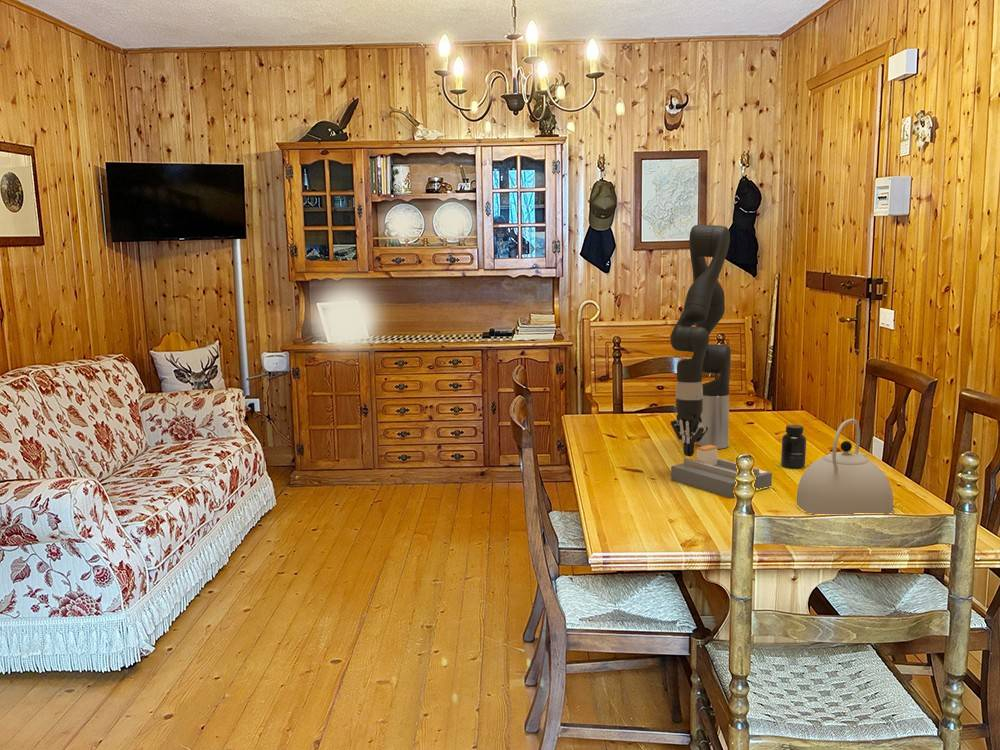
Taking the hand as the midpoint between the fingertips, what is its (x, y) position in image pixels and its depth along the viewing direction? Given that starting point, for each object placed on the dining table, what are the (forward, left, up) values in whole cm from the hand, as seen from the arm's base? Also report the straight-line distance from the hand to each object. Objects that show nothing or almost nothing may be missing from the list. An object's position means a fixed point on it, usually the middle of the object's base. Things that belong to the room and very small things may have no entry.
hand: (688, 455), depth 249 cm
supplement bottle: (+13, +30, -6) cm, 33 cm away
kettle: (+45, +9, -6) cm, 46 cm away
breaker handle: (+7, 0, -1) cm, 7 cm away
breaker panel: (+12, 0, -6) cm, 13 cm away
